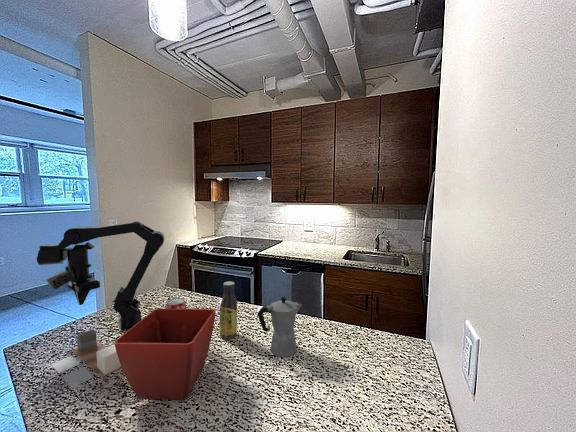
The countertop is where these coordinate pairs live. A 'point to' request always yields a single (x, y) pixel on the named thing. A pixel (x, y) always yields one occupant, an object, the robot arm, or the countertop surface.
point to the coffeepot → (281, 326)
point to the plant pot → (166, 352)
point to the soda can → (176, 303)
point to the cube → (107, 359)
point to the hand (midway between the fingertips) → (81, 304)
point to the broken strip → (75, 376)
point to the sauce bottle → (228, 312)
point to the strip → (90, 350)
